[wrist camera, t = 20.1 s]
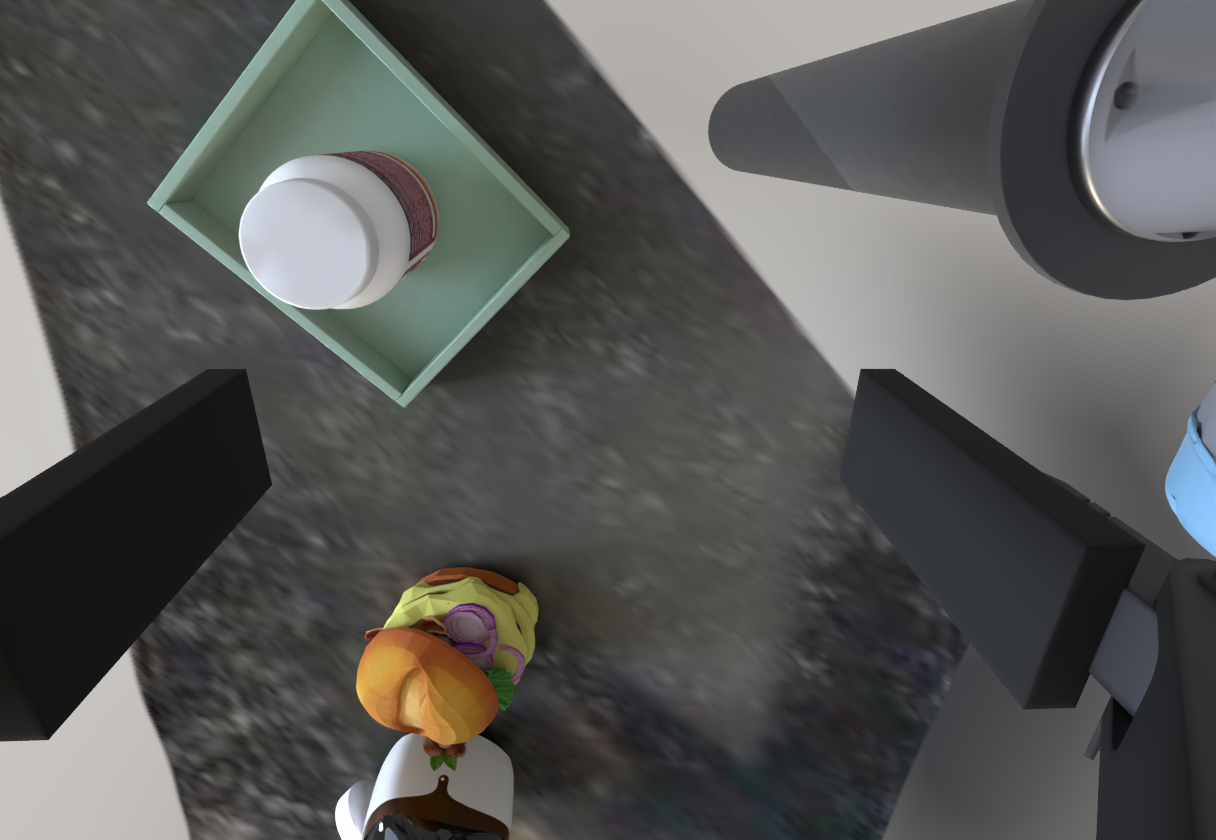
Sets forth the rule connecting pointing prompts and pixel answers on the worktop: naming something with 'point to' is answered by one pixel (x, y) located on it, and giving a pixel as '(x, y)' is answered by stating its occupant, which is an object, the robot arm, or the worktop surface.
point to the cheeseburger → (449, 654)
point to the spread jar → (433, 793)
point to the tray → (366, 121)
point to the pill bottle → (338, 228)
